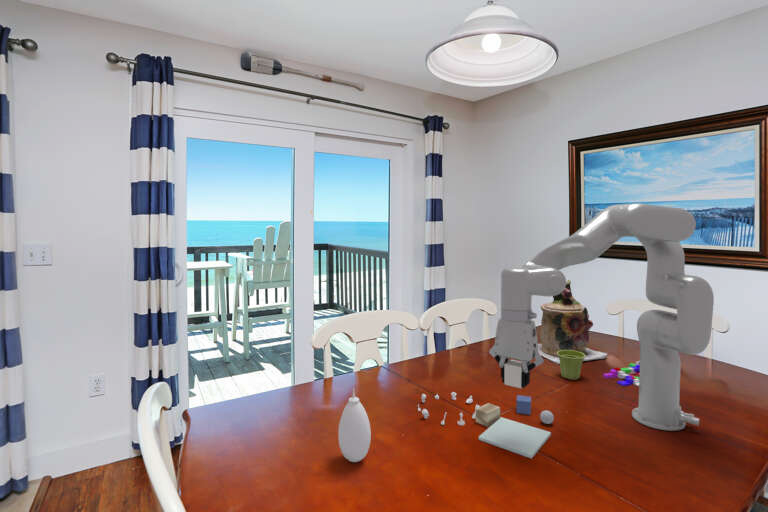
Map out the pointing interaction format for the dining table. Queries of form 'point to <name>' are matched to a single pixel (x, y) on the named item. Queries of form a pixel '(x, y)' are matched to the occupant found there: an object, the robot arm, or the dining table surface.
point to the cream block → (513, 373)
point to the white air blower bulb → (354, 431)
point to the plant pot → (570, 363)
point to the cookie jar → (565, 327)
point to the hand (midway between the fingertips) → (515, 382)
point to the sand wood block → (487, 414)
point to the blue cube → (523, 404)
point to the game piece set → (446, 412)
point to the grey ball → (546, 417)
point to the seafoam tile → (515, 437)
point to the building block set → (626, 374)
